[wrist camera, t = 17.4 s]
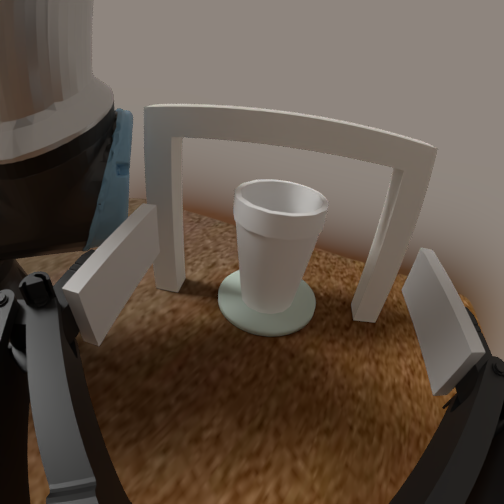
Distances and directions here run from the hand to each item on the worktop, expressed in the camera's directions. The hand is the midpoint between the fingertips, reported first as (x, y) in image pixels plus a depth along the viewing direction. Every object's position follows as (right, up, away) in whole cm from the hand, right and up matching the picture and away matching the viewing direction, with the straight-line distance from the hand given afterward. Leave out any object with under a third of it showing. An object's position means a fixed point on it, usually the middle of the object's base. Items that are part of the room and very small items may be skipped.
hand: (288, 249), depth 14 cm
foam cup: (0, -6, +22) cm, 23 cm away
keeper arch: (0, -6, +22) cm, 23 cm away
